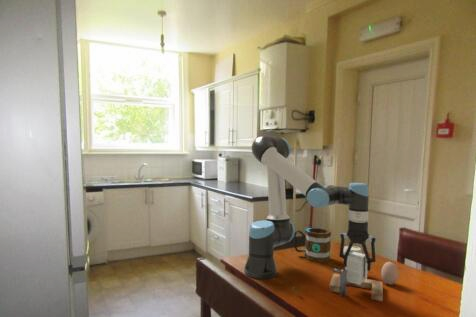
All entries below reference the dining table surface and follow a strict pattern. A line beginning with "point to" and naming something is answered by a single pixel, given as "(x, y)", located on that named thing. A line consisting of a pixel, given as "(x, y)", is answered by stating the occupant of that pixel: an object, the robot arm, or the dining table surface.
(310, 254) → the mug
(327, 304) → the dining table surface
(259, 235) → the robot arm
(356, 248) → the coffee cup
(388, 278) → the egg
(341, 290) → the hook post
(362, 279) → the small box
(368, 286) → the tan arch frame
